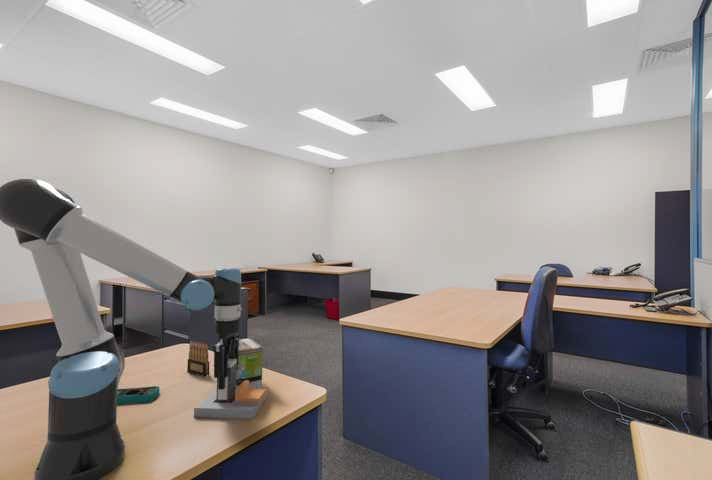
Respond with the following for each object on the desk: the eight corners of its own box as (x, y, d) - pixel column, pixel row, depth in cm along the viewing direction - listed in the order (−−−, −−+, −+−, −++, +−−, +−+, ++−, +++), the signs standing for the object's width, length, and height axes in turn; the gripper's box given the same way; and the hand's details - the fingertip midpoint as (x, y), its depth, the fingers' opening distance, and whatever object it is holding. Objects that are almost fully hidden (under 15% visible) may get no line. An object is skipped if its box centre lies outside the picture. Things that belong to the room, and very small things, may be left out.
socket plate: (252, 418, 92) (252, 406, 93) (193, 416, 93) (194, 405, 93) (266, 398, 105) (267, 387, 106) (215, 396, 106) (215, 386, 106)
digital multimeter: (153, 403, 103) (153, 393, 103) (98, 407, 99) (99, 398, 99) (161, 393, 110) (161, 384, 110) (111, 397, 107) (111, 388, 107)
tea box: (263, 389, 112) (263, 346, 112) (232, 397, 106) (233, 351, 107) (249, 376, 124) (250, 336, 125) (222, 381, 118) (222, 340, 119)
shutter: (258, 404, 96) (258, 390, 96) (235, 403, 96) (235, 389, 96) (266, 393, 102) (266, 380, 103) (244, 393, 103) (244, 380, 103)
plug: (230, 404, 97) (230, 363, 98) (216, 403, 98) (217, 363, 98) (236, 397, 101) (236, 358, 102) (222, 397, 102) (223, 358, 102)
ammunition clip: (187, 371, 128) (187, 341, 129) (191, 370, 130) (191, 339, 130) (205, 376, 123) (205, 344, 124) (209, 375, 125) (210, 343, 125)
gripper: (227, 324, 92) (225, 409, 91) (250, 313, 109) (249, 384, 108) (201, 324, 92) (199, 408, 91) (228, 313, 109) (226, 383, 108)
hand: (226, 395), depth 100 cm, fingers closed on plug, 4 cm apart
